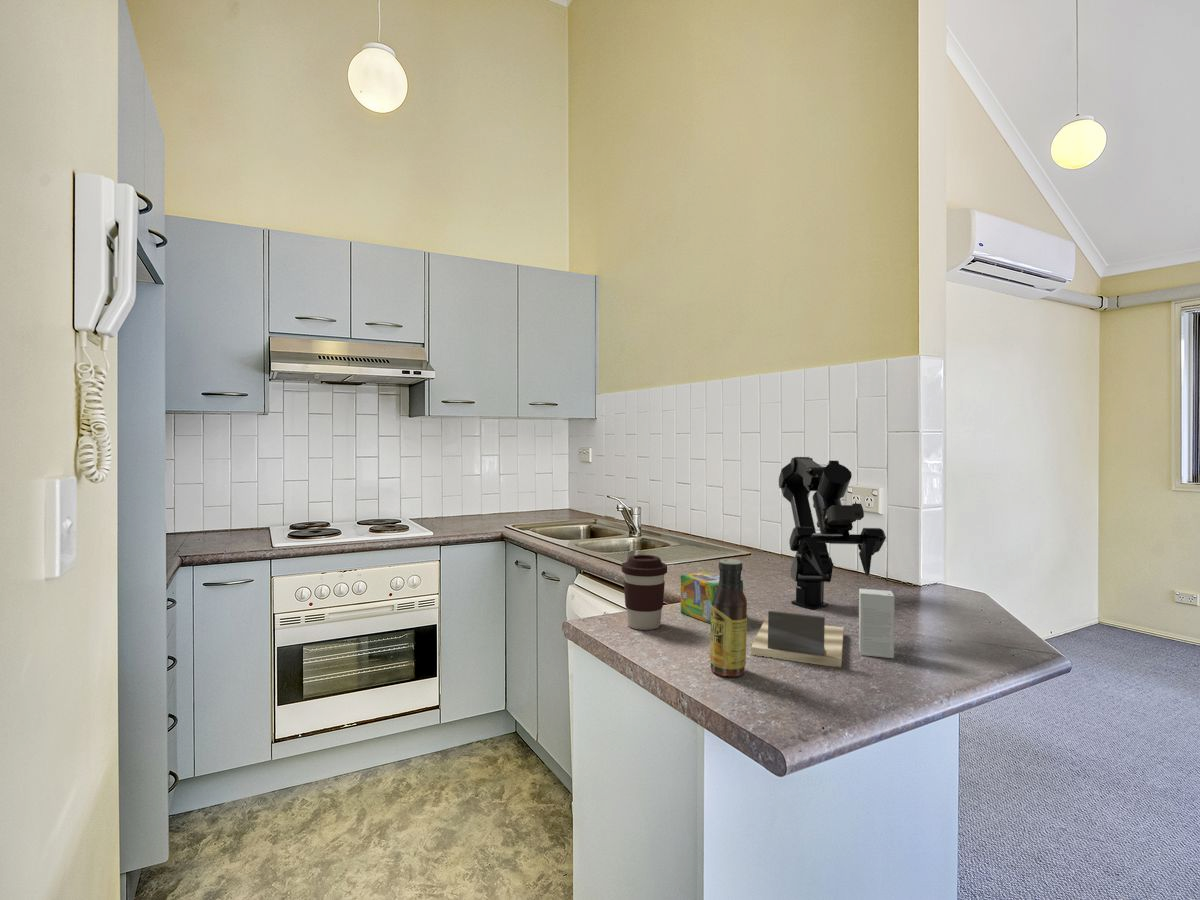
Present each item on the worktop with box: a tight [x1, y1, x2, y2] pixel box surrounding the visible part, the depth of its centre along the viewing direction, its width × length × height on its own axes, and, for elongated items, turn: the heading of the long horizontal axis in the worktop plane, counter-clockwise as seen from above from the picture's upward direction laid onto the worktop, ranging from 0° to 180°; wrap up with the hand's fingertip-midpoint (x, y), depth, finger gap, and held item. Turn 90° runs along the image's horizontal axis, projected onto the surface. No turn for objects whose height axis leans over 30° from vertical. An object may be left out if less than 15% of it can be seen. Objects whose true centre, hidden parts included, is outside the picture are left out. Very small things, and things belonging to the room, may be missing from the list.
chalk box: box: [680, 570, 744, 625], centre depth 140 cm, size 9×9×15 cm
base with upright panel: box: [750, 610, 844, 669], centre depth 123 cm, size 20×16×8 cm
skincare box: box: [858, 588, 896, 659], centre depth 118 cm, size 6×4×12 cm
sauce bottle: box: [709, 558, 748, 678], centre depth 108 cm, size 7×6×20 cm
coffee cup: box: [621, 554, 668, 631], centre depth 134 cm, size 10×10×15 cm
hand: (845, 574), depth 126 cm, fingers open, 9 cm apart
